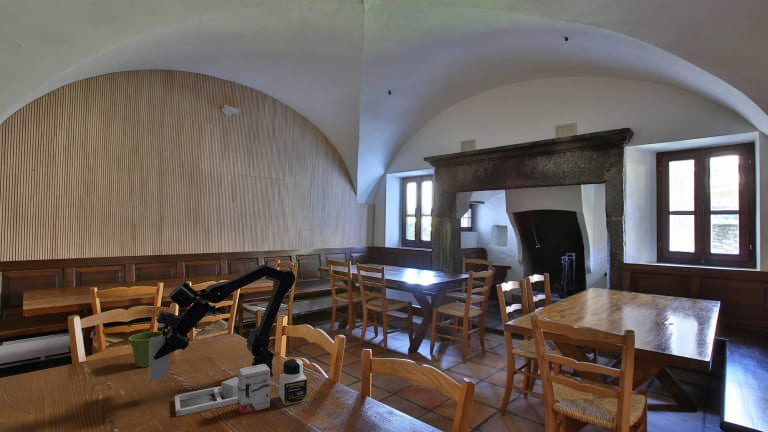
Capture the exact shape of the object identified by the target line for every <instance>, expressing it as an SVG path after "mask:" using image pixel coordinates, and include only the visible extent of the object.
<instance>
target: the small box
mask: <svg viewBox="0 0 768 432" xmlns="http://www.w3.org/2000/svg"><path fill="white" fill-rule="evenodd" d="M220 393H221V394H220V396H221V399H229V398H233V397H238V376H234V377H231V378H229V379H227V380H225V381H222V382H221V392H220Z"/></svg>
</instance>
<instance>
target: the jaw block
mask: <svg viewBox="0 0 768 432" xmlns="http://www.w3.org/2000/svg"><path fill="white" fill-rule="evenodd" d="M166 336H167V335H166ZM164 342H165V336H159V337H153V338H149V367H148V377H149V382H153V381H158V380H162V379H166V378H169V377H170V376H169V375H170V374H169V367H170V366H169V365H170V364H169V361H170V360H169V359H170V358H169V357H170V355H169V354H170V353H169V354H167V355H165V356H163V357H161V358H159V359H157V360H155V359H154V358H153V357H154V356H155V355H156V353H157V352H158V350H159V349H160V348H161V346H162V345H163V344H164Z"/></svg>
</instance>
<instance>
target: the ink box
mask: <svg viewBox="0 0 768 432" xmlns="http://www.w3.org/2000/svg"><path fill="white" fill-rule="evenodd" d="M237 377H238V403H237V409H238V410H239V411H238V412H240V414H241V415H243V414H248V413H253V412H257V411H259V410H264V409H267V408H270V407H271V376H270V368H269V367H268V366H267V365H266V364H261V365H256V366H247V367H243V368H239V369H238V375H237Z"/></svg>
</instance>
